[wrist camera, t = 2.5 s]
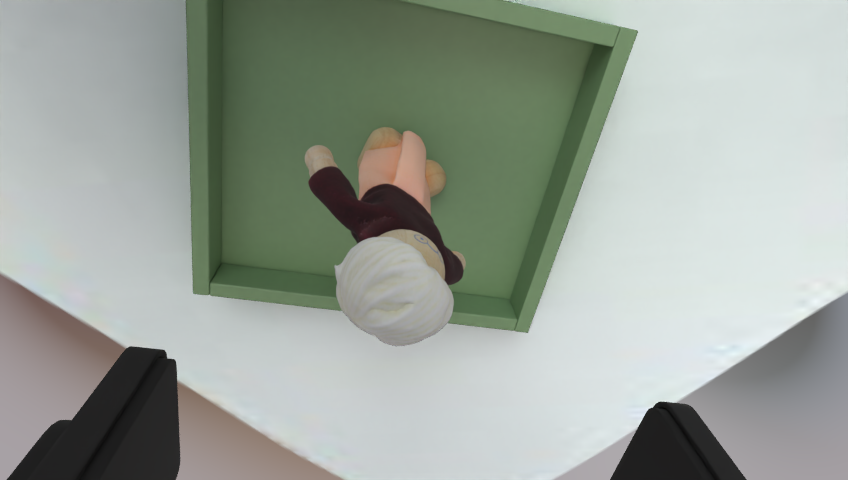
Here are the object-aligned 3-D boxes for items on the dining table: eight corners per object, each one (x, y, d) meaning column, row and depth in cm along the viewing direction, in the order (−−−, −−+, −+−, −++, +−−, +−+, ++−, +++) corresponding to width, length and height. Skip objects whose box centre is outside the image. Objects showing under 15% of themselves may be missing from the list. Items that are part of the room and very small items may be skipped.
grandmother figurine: (479, 166, 24) (563, 322, 13) (439, 226, 25) (481, 416, 14) (339, 85, 22) (289, 188, 10) (303, 156, 23) (225, 315, 12)
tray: (208, 269, 26) (192, 294, 24) (205, -66, 19) (182, -72, 17) (517, 307, 29) (528, 333, 26) (613, 26, 22) (638, 30, 20)
